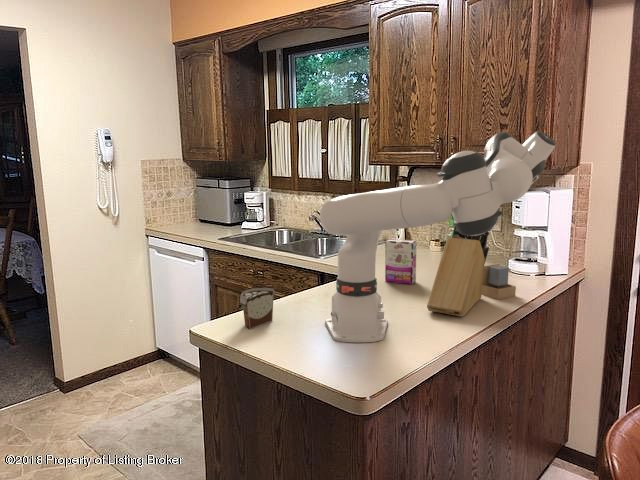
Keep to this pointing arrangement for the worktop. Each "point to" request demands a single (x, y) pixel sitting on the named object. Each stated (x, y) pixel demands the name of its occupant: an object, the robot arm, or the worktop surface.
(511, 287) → the carton
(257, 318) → the food container
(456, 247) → the knife block
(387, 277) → the candy bar box
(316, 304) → the worktop surface
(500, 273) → the tea tin
